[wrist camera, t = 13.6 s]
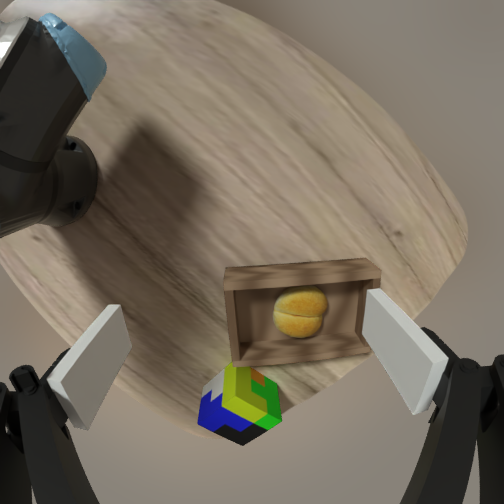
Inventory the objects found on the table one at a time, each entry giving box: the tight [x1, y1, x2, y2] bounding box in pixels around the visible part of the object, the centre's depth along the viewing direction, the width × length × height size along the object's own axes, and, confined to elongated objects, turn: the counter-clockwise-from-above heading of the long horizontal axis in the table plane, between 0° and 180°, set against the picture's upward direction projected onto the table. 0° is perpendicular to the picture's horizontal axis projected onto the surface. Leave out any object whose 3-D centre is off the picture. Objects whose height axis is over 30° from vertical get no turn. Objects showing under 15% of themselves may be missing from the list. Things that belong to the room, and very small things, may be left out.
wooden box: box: [223, 258, 381, 367], centre depth 43 cm, size 22×14×6 cm, turn 93°
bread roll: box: [273, 285, 328, 338], centre depth 43 cm, size 8×9×4 cm
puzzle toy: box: [197, 362, 282, 446], centre depth 46 cm, size 10×10×10 cm
